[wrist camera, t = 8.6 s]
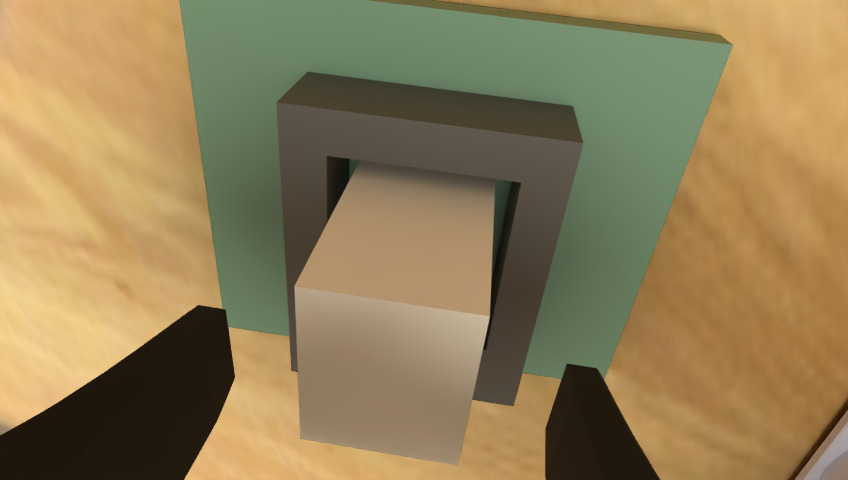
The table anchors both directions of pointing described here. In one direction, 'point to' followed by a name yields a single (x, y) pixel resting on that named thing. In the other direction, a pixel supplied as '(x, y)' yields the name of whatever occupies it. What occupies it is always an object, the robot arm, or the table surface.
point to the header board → (450, 151)
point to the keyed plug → (396, 312)
